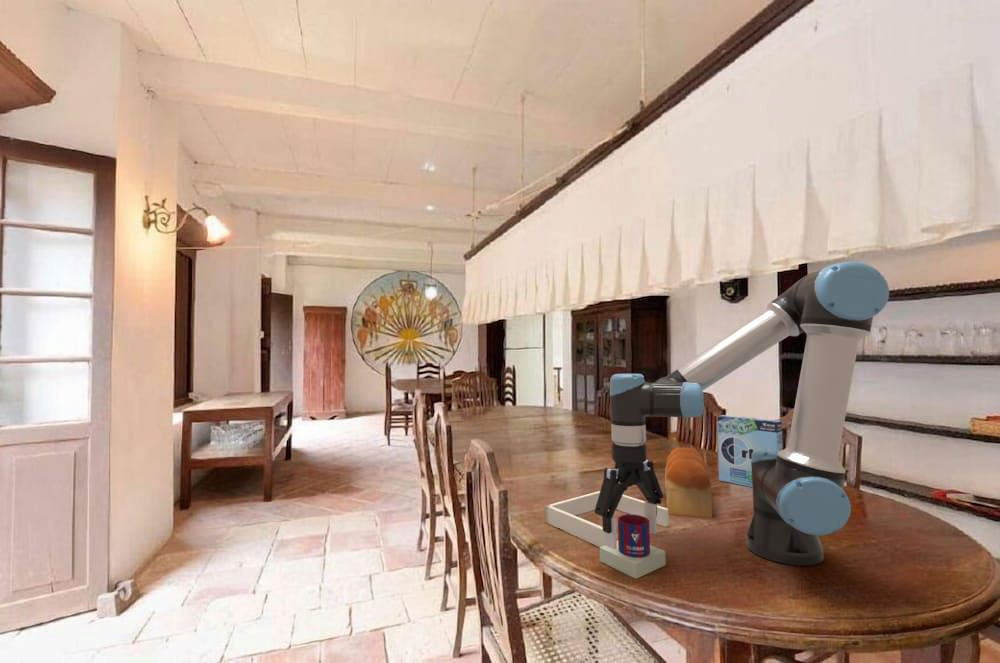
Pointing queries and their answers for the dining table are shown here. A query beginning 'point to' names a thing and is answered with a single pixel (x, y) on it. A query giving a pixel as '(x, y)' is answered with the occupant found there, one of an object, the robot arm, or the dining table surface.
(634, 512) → the white u-shaped frame
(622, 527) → the mug
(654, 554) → the stand
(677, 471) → the bread
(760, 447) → the gum box
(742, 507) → the dining table surface
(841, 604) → the dining table surface
